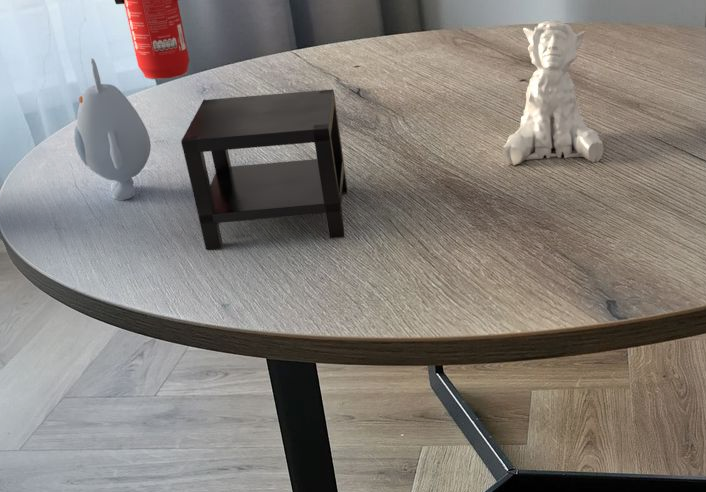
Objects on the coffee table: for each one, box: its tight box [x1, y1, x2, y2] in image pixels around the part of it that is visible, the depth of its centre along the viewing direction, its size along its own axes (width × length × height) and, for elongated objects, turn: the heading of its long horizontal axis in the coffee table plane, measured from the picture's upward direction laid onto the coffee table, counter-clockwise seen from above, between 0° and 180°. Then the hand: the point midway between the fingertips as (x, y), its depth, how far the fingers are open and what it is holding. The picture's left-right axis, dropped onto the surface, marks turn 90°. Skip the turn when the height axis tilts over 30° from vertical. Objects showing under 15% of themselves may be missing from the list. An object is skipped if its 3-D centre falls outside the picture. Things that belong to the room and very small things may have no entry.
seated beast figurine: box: [500, 19, 605, 167], centre depth 90 cm, size 10×9×12 cm
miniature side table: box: [180, 89, 348, 251], centre depth 79 cm, size 11×11×9 cm
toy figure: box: [73, 58, 152, 201], centre depth 85 cm, size 11×6×12 cm, turn 23°
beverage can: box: [123, 0, 190, 80], centre depth 98 cm, size 5×5×12 cm
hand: (150, 0), depth 98 cm, fingers closed on beverage can, 5 cm apart
